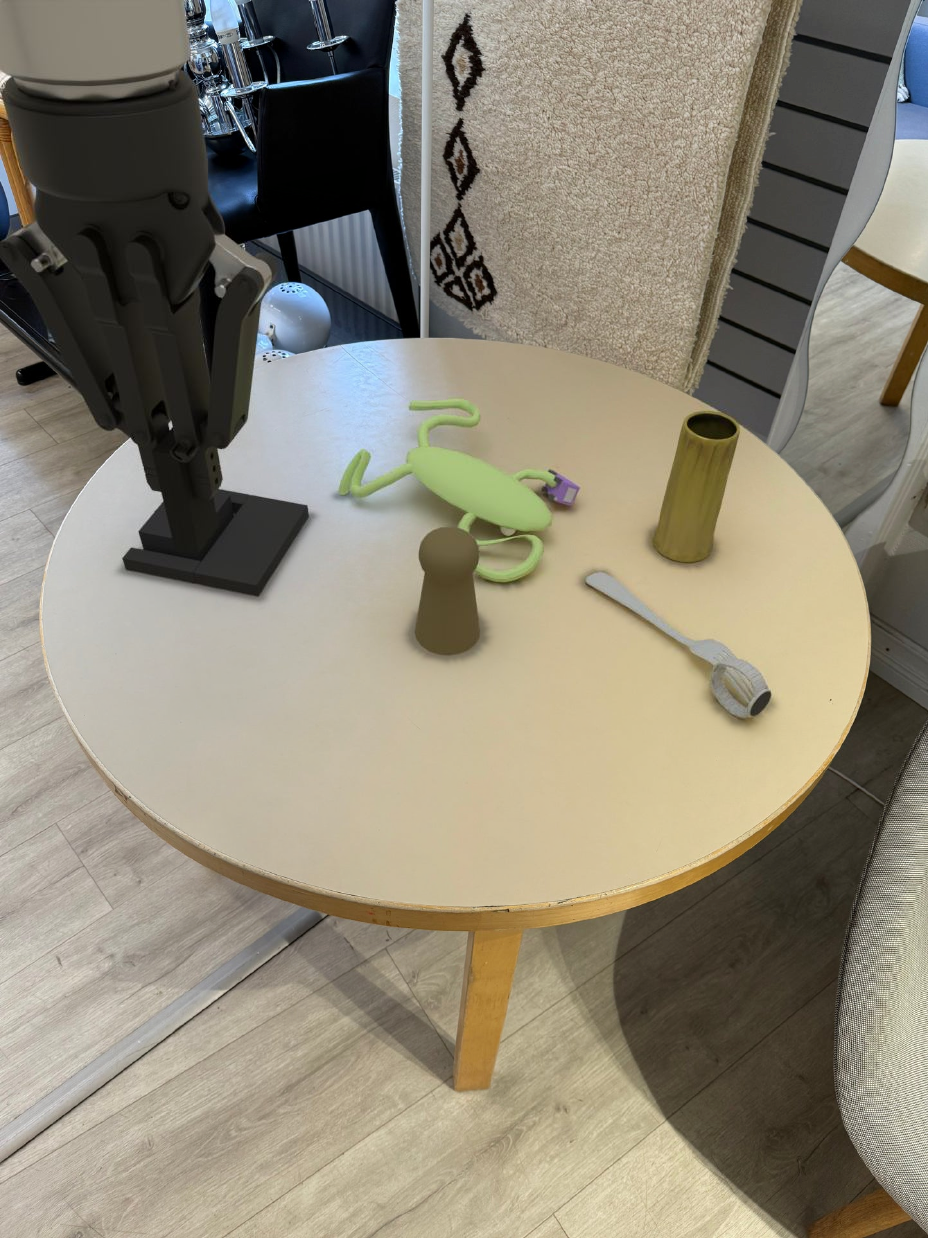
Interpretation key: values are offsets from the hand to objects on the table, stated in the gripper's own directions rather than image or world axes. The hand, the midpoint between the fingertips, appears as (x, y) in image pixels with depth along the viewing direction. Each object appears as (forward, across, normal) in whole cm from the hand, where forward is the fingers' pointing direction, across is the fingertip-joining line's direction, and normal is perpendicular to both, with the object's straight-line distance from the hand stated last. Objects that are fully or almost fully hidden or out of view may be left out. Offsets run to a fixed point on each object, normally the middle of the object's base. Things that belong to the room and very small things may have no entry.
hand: (196, 535), depth 52 cm
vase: (+25, -31, -40) cm, 56 cm away
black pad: (+26, +14, -28) cm, 40 cm away
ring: (+25, -36, -19) cm, 48 cm away
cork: (+26, -10, -21) cm, 35 cm away
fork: (+25, -30, -26) cm, 47 cm away
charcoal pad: (+26, +18, -28) cm, 42 cm away
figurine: (+25, -7, -41) cm, 49 cm away
